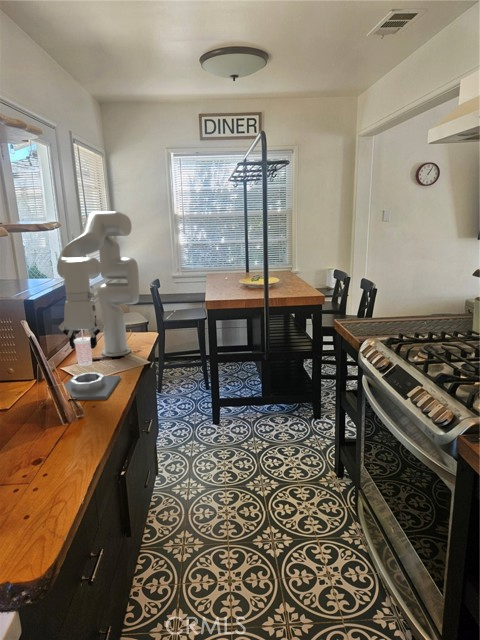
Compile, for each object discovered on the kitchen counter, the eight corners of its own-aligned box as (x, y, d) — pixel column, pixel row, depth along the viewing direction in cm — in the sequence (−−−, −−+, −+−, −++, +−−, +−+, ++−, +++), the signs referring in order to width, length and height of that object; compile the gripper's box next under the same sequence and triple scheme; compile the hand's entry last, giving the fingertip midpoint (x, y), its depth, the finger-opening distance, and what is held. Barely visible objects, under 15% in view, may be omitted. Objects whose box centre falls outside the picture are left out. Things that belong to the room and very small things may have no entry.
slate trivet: (72, 379, 155) (72, 376, 154) (120, 378, 155) (120, 375, 155) (52, 400, 137) (52, 397, 137) (106, 399, 138) (106, 396, 137)
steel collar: (78, 380, 151) (78, 372, 150) (107, 379, 151) (106, 372, 150) (67, 392, 141) (66, 384, 140) (98, 391, 141) (97, 383, 140)
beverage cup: (74, 367, 140) (69, 328, 137) (78, 361, 146) (74, 323, 142) (92, 366, 141) (88, 327, 138) (96, 360, 147) (92, 322, 143)
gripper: (107, 294, 142) (111, 344, 146) (57, 295, 141) (63, 344, 146) (100, 298, 134) (105, 350, 139) (47, 299, 134) (54, 351, 138)
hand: (83, 347), depth 142 cm, fingers closed on beverage cup, 6 cm apart
